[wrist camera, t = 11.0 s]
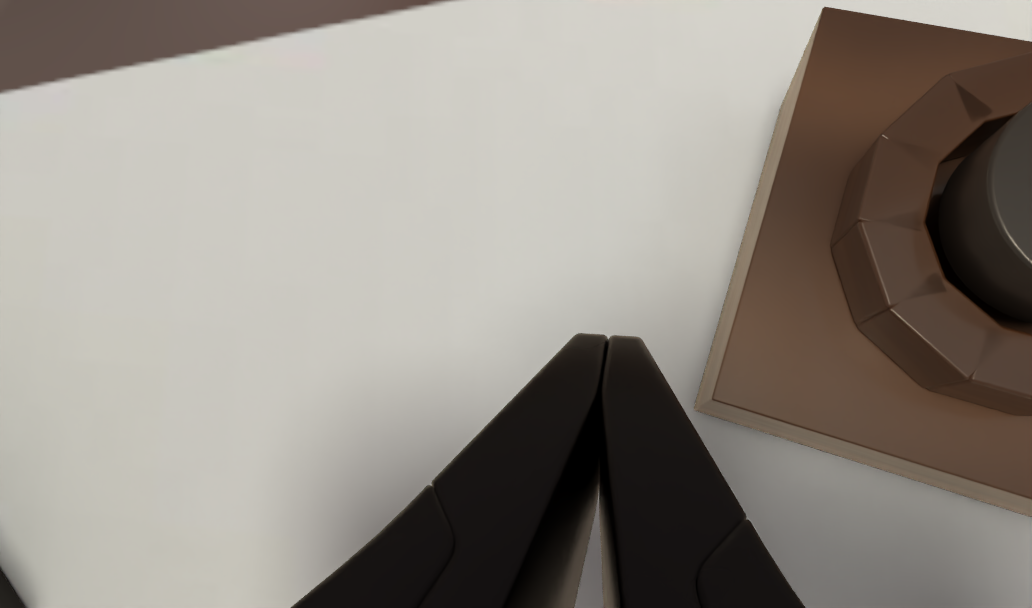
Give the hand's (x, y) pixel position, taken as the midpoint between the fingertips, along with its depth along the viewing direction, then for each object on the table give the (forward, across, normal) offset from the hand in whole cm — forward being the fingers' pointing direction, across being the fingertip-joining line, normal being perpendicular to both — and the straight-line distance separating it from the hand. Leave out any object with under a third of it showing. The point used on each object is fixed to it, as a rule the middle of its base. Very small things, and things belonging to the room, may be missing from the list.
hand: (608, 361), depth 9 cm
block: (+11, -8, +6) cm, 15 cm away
